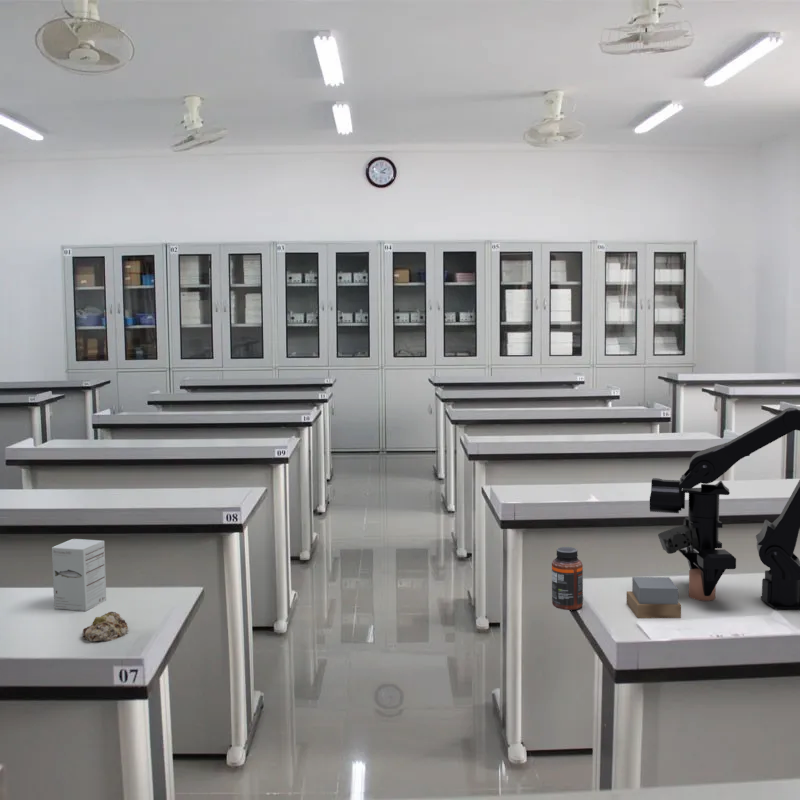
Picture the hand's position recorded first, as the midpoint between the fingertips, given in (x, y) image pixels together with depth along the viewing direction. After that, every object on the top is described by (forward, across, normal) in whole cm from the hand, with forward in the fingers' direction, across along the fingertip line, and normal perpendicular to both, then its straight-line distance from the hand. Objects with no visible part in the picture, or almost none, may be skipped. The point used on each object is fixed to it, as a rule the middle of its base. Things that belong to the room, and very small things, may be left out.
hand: (702, 591), depth 161 cm
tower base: (+2, +8, -12) cm, 15 cm away
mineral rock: (+2, +17, -114) cm, 115 cm away
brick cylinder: (+1, 0, 0) cm, 1 cm away
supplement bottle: (+1, +5, -28) cm, 28 cm away
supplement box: (+1, +2, -125) cm, 125 cm away
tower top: (-2, +8, -12) cm, 14 cm away
